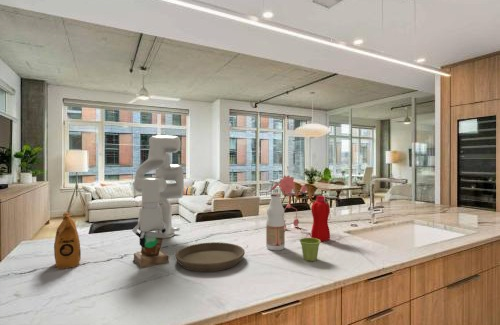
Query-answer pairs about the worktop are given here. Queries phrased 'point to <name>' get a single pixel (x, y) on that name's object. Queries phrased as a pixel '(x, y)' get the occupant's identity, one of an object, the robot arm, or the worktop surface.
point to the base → (150, 259)
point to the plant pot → (310, 248)
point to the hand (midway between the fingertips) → (150, 244)
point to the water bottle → (320, 219)
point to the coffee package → (67, 244)
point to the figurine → (287, 186)
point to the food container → (152, 243)
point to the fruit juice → (275, 224)
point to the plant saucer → (210, 256)
